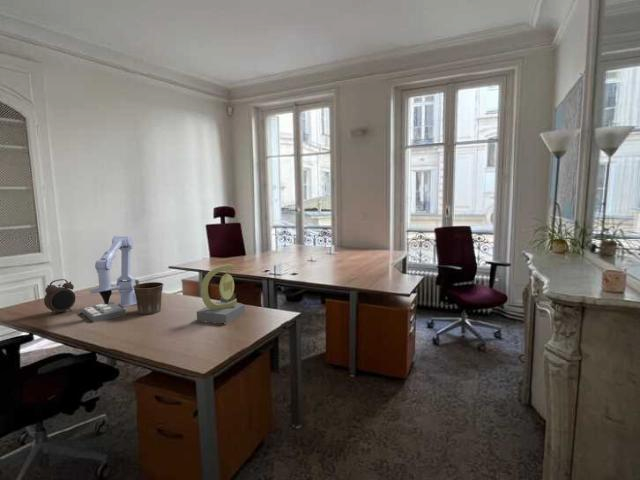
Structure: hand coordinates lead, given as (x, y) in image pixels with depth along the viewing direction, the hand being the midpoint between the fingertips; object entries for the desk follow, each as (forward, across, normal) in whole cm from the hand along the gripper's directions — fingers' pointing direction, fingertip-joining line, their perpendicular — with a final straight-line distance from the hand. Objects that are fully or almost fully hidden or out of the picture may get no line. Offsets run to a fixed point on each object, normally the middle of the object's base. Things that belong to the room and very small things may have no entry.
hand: (106, 303), depth 196 cm
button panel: (+7, 0, +7) cm, 10 cm away
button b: (+6, 0, +7) cm, 9 cm away
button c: (+6, 0, 0) cm, 6 cm away
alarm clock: (+8, -16, +29) cm, 34 cm away
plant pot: (+8, +20, -9) cm, 23 cm away
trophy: (+8, +43, -51) cm, 67 cm away
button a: (+7, 0, +14) cm, 15 cm away
